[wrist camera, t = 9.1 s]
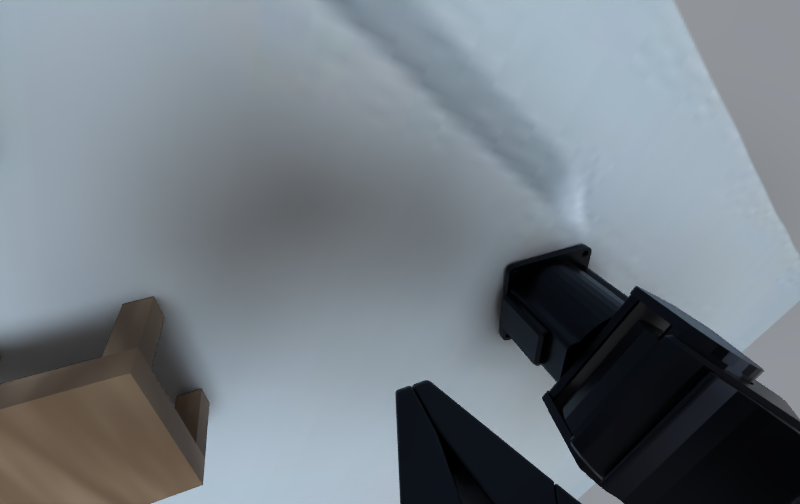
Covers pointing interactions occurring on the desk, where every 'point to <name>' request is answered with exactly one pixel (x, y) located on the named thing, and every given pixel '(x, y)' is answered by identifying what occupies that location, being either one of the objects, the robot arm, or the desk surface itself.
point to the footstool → (102, 426)
